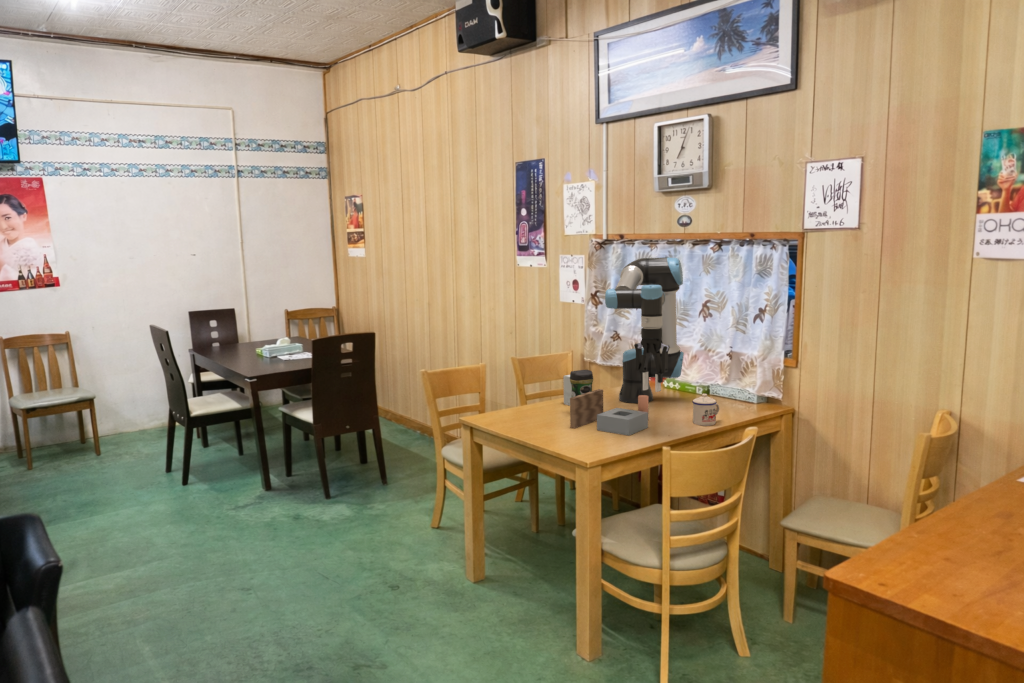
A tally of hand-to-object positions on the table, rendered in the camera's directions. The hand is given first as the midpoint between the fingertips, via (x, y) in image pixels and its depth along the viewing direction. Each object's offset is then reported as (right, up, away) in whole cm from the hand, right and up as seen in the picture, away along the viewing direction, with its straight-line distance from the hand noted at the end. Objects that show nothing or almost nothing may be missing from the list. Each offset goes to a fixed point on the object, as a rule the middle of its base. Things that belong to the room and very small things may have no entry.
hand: (651, 390), depth 264 cm
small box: (-23, -10, +55) cm, 61 cm away
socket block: (-9, -15, +10) cm, 21 cm away
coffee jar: (-22, -13, +37) cm, 45 cm away
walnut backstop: (-22, -15, +21) cm, 33 cm away
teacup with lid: (+25, -14, +17) cm, 33 cm away
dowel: (+1, -14, +23) cm, 27 cm away
